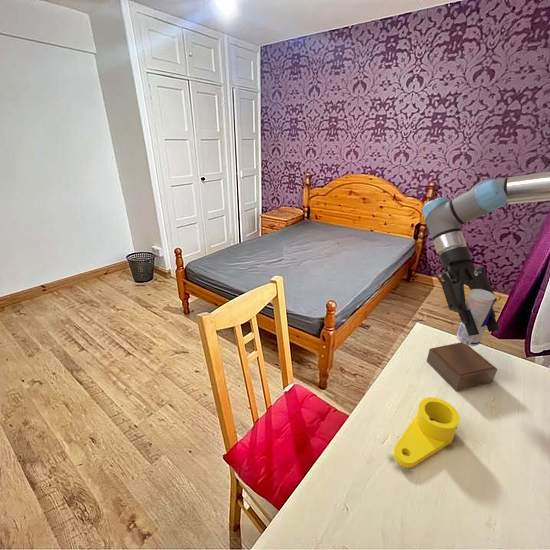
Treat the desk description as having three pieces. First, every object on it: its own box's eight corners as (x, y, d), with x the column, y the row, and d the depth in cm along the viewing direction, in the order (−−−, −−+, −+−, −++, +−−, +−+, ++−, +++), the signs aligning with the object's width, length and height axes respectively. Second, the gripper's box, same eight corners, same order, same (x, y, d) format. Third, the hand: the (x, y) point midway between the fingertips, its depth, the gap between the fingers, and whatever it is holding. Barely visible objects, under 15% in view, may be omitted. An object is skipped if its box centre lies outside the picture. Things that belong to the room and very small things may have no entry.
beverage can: (481, 348, 81) (499, 301, 74) (458, 344, 83) (472, 297, 76) (476, 336, 86) (492, 289, 79) (454, 332, 88) (468, 287, 81)
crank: (426, 408, 78) (431, 391, 76) (460, 432, 72) (466, 415, 70) (382, 448, 69) (385, 430, 67) (415, 479, 63) (421, 461, 60)
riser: (459, 354, 96) (463, 341, 94) (492, 382, 85) (497, 368, 83) (426, 361, 93) (429, 348, 91) (455, 391, 83) (460, 377, 81)
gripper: (470, 252, 91) (501, 329, 84) (415, 259, 87) (443, 341, 80) (490, 241, 84) (526, 324, 77) (432, 249, 80) (464, 337, 73)
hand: (484, 332), depth 79 cm, fingers closed on beverage can, 6 cm apart
